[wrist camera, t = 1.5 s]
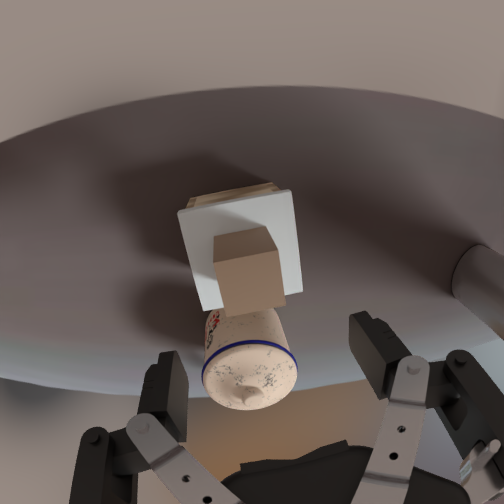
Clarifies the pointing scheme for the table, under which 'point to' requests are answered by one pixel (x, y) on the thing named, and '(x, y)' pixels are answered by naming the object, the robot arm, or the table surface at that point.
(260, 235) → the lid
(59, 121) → the table surface
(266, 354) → the teacup with lid
